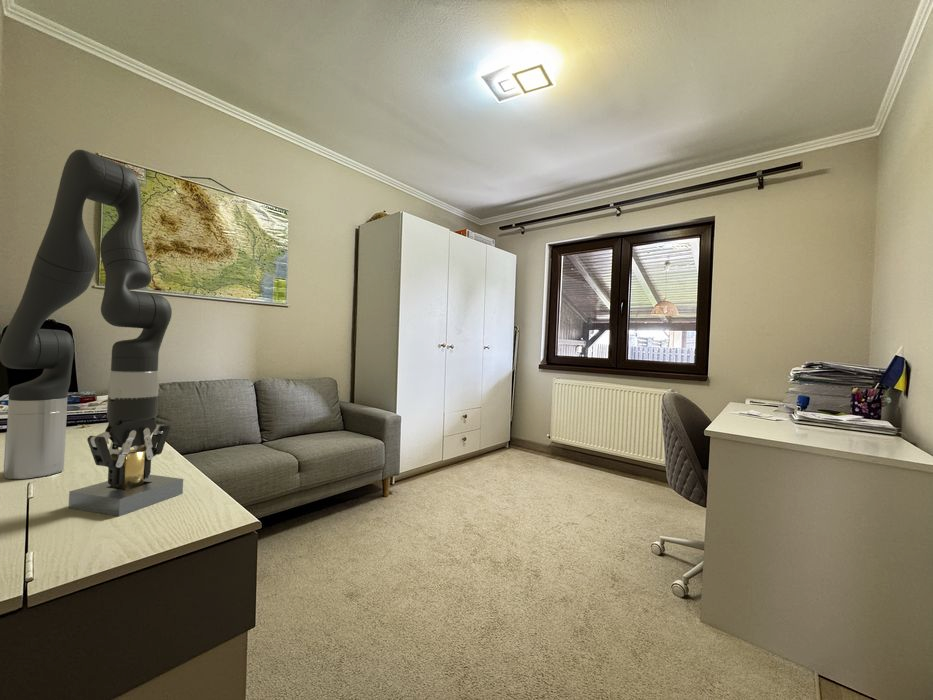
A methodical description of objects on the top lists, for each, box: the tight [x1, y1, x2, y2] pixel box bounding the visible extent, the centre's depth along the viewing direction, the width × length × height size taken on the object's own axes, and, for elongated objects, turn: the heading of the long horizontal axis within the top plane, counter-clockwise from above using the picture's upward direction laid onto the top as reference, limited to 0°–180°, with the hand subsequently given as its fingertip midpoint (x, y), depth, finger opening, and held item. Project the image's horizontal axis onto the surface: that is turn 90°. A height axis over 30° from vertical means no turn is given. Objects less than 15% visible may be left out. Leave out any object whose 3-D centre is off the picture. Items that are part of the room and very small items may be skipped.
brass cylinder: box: [116, 448, 145, 490], centre depth 76 cm, size 4×4×8 cm
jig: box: [68, 474, 184, 517], centre depth 76 cm, size 12×12×3 cm
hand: (129, 482), depth 76 cm, fingers open, 4 cm apart
